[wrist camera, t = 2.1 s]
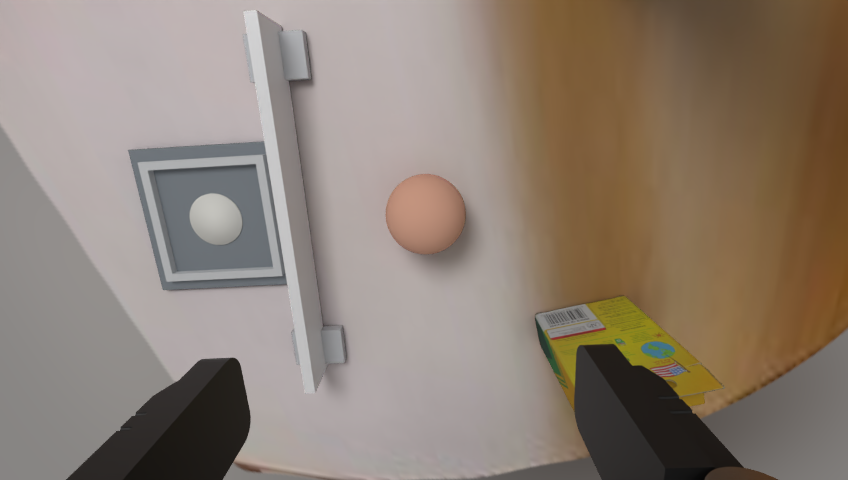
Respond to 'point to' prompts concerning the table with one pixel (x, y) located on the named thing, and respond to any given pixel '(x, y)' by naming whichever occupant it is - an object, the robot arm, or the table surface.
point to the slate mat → (210, 215)
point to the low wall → (290, 188)
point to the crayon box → (621, 345)
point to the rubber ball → (425, 214)
